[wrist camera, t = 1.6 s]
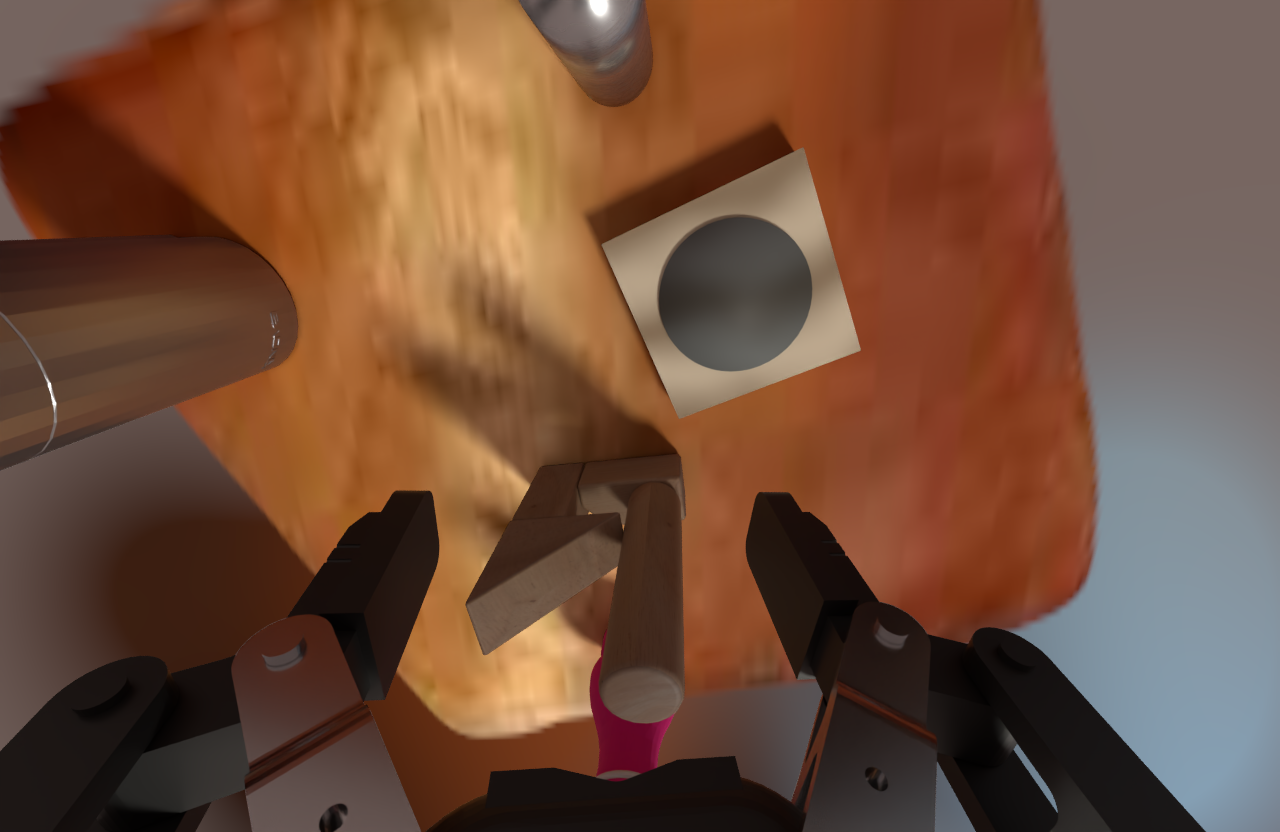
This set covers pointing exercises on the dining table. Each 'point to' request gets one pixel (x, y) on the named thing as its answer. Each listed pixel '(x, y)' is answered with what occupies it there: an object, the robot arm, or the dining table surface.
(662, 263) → the rest block
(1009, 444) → the dining table surface
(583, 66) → the axle
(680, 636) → the wooden block
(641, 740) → the pepper mill
